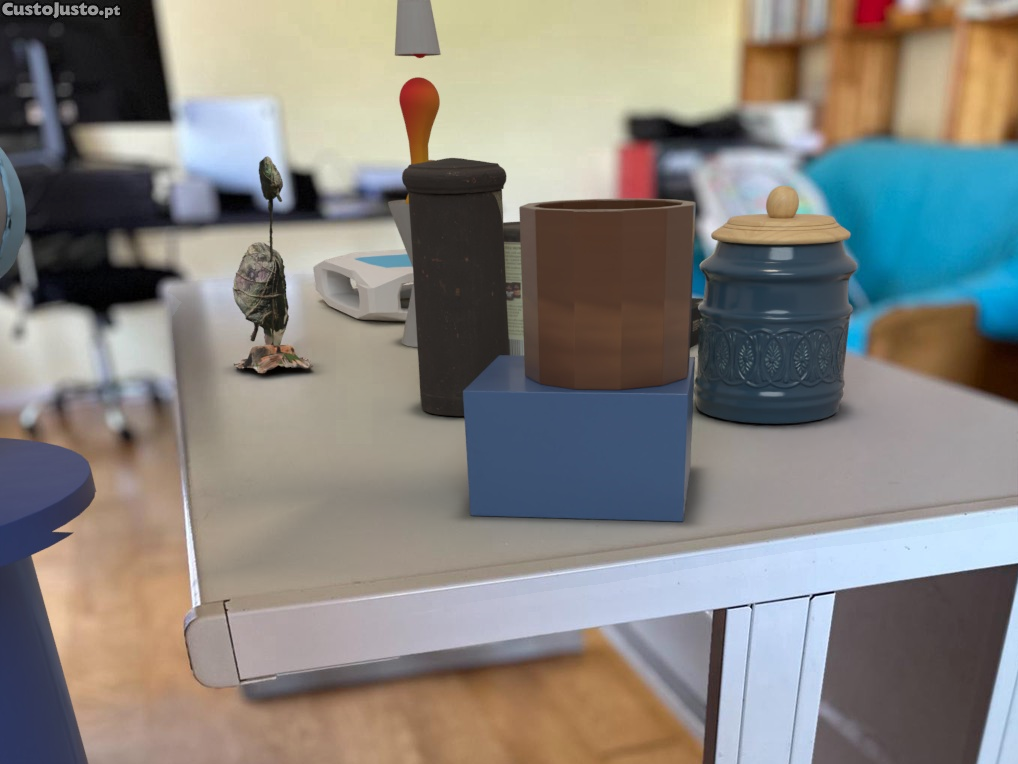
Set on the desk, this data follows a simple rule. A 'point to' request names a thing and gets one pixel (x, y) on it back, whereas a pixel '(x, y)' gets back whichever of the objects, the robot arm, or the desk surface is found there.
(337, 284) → the white boxy piece
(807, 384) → the canister
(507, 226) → the coffee can
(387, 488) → the desk surface
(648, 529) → the desk surface
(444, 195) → the container
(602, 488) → the peg box
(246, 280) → the plant with pod
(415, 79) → the lava lamp
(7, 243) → the robot arm
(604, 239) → the brown pot
